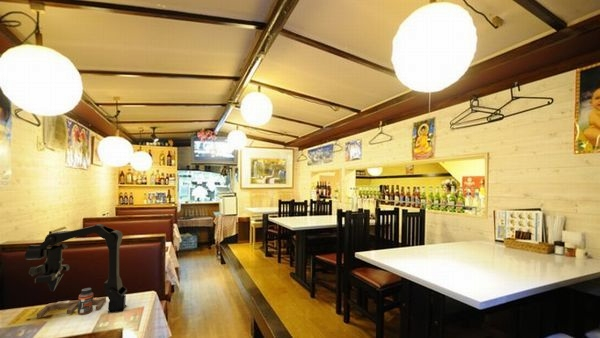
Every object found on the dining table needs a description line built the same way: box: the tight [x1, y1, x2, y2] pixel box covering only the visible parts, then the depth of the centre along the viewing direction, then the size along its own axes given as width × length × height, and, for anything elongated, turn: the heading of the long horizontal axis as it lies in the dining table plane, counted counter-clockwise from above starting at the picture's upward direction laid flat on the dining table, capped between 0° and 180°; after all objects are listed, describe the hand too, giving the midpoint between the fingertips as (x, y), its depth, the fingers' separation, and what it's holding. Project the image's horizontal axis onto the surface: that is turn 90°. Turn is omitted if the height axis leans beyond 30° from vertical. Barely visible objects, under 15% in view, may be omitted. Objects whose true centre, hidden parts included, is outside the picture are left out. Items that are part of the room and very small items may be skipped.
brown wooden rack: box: [36, 296, 107, 319], centre depth 139 cm, size 25×10×3 cm, turn 110°
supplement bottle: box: [77, 287, 94, 316], centre depth 136 cm, size 6×6×11 cm
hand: (52, 290), depth 132 cm, fingers closed
